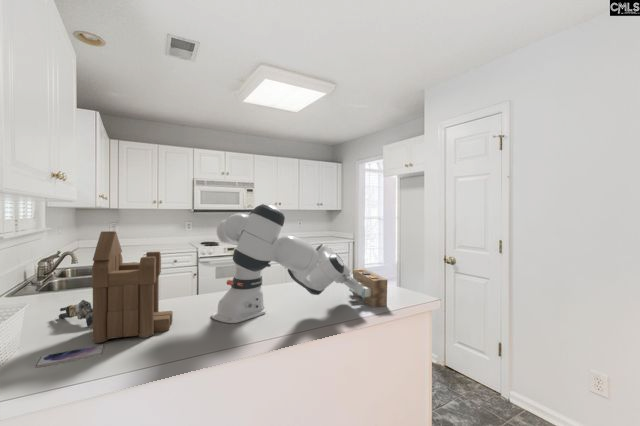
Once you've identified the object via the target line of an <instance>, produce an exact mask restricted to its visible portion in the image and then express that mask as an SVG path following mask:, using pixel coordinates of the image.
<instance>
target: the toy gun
mask: <svg viewBox="0 0 640 426" xmlns="http://www.w3.org/2000/svg"><path fill="white" fill-rule="evenodd" d="M59 311H60V312H63V313H60V314H59V315H58V319H59V320H60V319H62V320H63V319H67V318H68V319H69V318H71V319H72V318H74V317H77V320H83V319H85V323H86V326H87V328H93V305H92V304H91V302H89V301H87V300H85V299H82V300H81V301H80V302H79V303H78V304H73V305H72V304H71V305H68V306H65V307H61V308H60V309H59ZM64 311H65V312H64Z"/></svg>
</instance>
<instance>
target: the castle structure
mask: <svg viewBox="0 0 640 426" xmlns="http://www.w3.org/2000/svg"><path fill="white" fill-rule="evenodd" d="M122 253H123V250H122V247H121V243H120V241H119V238H118V234H117V231H115V230H113V231H111V230H110V231H107V230H106V231H101V232H100V233H99V236H98V239H97V243H96V247H95V251H94V254H93V257H92V261H93V264H92V265H91V267H92V268H91V288H92V308H93V327H92V342H93V343H95V344H98V343H99V344H101V343H104V342H106V341H108V340H109V339H115V338H127V337H135V336H136V337H137V336H138V337H139V338H142V339H143V338H149V337H151V336H153V335H154V333H159V331H160V332H167V331H169V330H170V328H171V326H172V323H173V313H174V312H173V310H166V311H159V306H160V305H159V299H160V298H159V297H160V295H159V292H160V291H159V288H160V287H159V286H160V285H159V283H160V280H159V279H160V277H159V276H160V275H161V273H162V254H161V252H160V251H147V252H146V255H145V256H142V257H140V259H139V260H140V261H139V262H123V256H122Z"/></svg>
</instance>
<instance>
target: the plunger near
mask: <svg viewBox="0 0 640 426" xmlns="http://www.w3.org/2000/svg"><path fill="white" fill-rule="evenodd" d="M363 288H364V291H363V292H362V295H360V296H361V297H363V298H365V297H369V296H371V287H369V286H366V287H363Z"/></svg>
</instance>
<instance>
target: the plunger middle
mask: <svg viewBox="0 0 640 426" xmlns="http://www.w3.org/2000/svg"><path fill="white" fill-rule="evenodd" d="M358 283H359V284H360V285H361V286H362V287H364V283H363V282H358ZM348 290H349V292H350V293H352V294H355V293H354V291H352V290H351V289H350V288H348Z"/></svg>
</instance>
